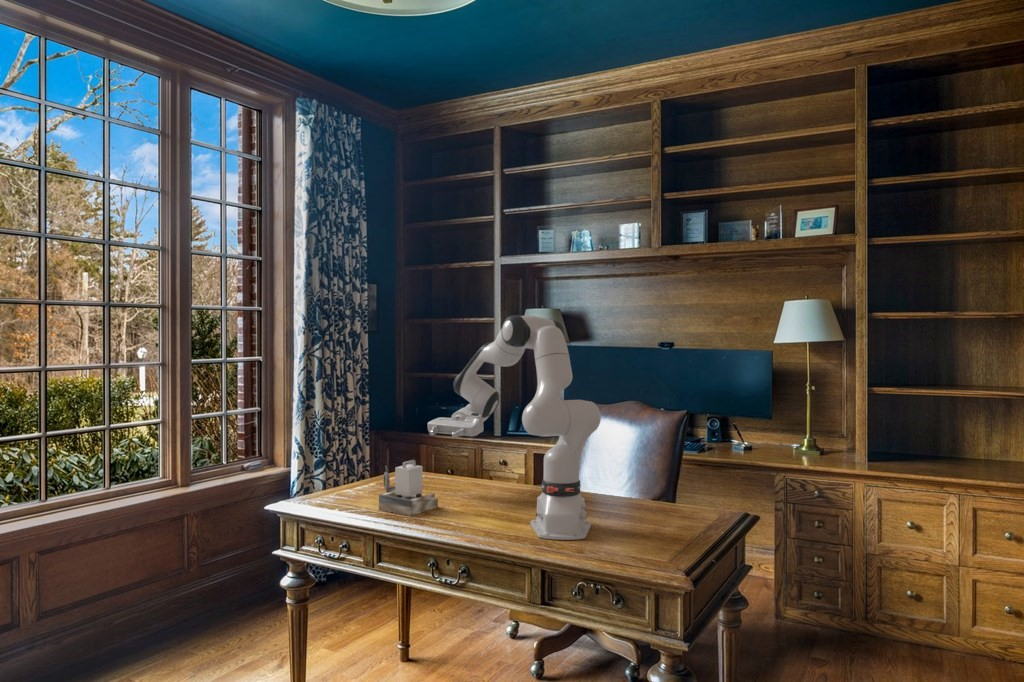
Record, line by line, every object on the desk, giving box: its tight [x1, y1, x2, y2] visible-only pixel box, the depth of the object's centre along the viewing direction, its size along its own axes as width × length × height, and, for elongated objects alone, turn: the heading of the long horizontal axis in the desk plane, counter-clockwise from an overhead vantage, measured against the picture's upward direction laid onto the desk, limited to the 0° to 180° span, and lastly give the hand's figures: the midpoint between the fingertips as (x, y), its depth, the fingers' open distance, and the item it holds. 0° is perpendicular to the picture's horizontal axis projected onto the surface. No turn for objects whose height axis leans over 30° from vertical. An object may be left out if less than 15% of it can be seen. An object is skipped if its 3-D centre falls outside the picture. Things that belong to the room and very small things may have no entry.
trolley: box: [394, 459, 424, 500], centre depth 231 cm, size 7×6×13 cm
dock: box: [378, 491, 439, 517], centre depth 231 cm, size 14×14×5 cm
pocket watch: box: [383, 465, 395, 493], centre depth 256 cm, size 8×8×10 cm
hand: (442, 434), depth 241 cm, fingers open, 8 cm apart
